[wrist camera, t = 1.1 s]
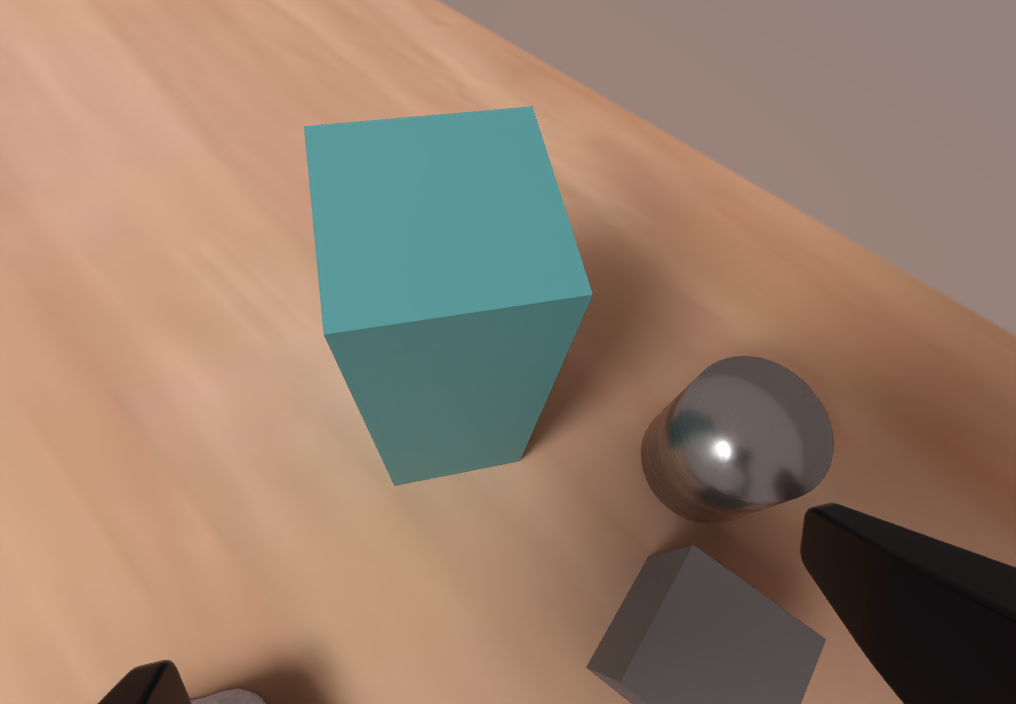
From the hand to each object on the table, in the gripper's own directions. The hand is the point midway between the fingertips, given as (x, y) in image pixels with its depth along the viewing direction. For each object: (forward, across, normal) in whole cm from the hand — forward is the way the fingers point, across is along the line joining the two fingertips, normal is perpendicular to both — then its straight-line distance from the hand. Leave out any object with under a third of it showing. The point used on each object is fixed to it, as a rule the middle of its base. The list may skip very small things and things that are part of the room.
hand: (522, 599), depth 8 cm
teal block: (+15, 0, +4) cm, 15 cm away
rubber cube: (+8, -6, +12) cm, 15 cm away
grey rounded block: (+12, -10, +7) cm, 17 cm away
